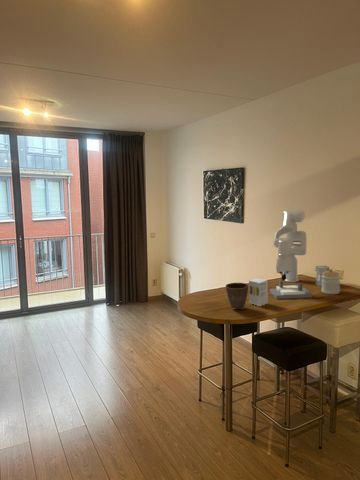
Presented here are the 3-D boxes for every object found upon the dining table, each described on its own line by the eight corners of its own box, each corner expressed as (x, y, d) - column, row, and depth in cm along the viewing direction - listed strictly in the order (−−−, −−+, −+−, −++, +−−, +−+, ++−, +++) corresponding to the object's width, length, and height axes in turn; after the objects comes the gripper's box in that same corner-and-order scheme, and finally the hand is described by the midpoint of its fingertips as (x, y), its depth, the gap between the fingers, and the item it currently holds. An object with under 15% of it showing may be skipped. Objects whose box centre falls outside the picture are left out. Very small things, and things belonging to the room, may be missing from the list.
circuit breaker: (336, 285, 284) (337, 267, 282) (318, 286, 285) (318, 267, 283) (333, 283, 292) (333, 265, 290) (315, 283, 292) (315, 265, 290)
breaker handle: (297, 289, 263) (297, 282, 262) (300, 289, 263) (300, 282, 262) (299, 290, 259) (299, 283, 258) (302, 290, 259) (302, 283, 258)
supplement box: (248, 304, 249) (248, 280, 246) (256, 300, 255) (256, 277, 252) (260, 306, 241) (259, 282, 239) (268, 303, 247) (267, 280, 245)
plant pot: (233, 313, 230) (233, 289, 228) (222, 307, 244) (221, 284, 242) (253, 309, 236) (252, 286, 234) (240, 303, 250) (240, 281, 247)
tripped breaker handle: (278, 286, 272) (278, 279, 272) (281, 286, 272) (281, 279, 272) (280, 287, 268) (280, 281, 268) (282, 287, 268) (282, 281, 268)
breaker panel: (269, 292, 275) (269, 286, 274) (303, 290, 275) (303, 284, 275) (276, 298, 257) (276, 292, 256) (312, 297, 257) (312, 290, 257)
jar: (323, 288, 277) (323, 266, 275) (341, 290, 270) (342, 268, 268) (319, 293, 267) (319, 269, 265) (337, 295, 259) (338, 271, 257)
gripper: (291, 254, 271) (292, 278, 274) (272, 255, 271) (272, 279, 274) (295, 256, 264) (295, 280, 267) (275, 258, 264) (275, 282, 267)
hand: (283, 280), depth 270 cm, fingers closed
